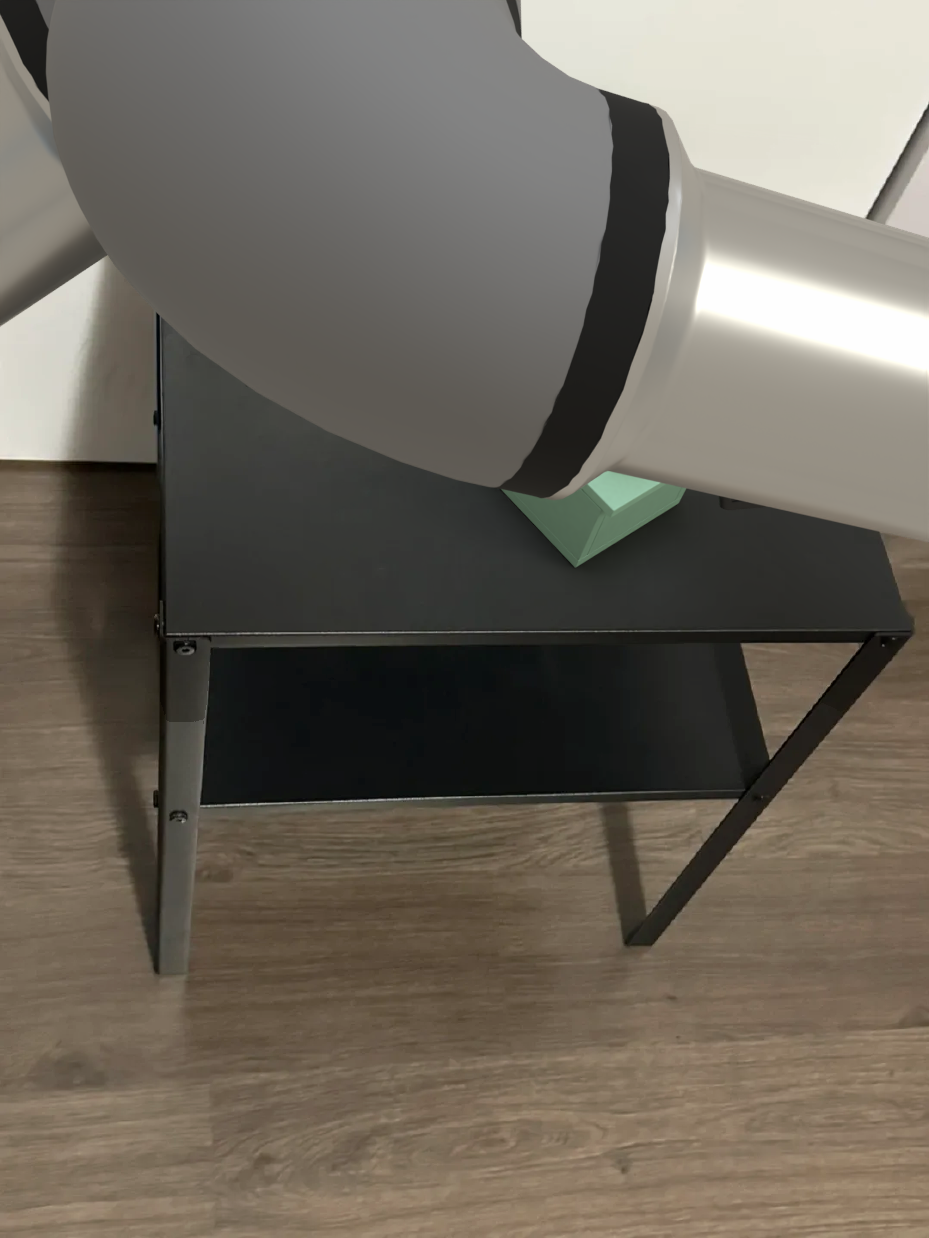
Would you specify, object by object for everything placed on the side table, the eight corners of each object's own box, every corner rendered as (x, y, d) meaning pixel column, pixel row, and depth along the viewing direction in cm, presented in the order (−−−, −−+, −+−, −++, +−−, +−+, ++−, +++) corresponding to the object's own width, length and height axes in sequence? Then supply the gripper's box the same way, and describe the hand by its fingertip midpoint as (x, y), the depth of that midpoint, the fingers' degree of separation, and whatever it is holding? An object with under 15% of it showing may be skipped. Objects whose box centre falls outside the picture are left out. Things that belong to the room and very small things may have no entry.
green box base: (678, 503, 86) (710, 444, 81) (575, 568, 82) (601, 510, 76) (560, 385, 90) (582, 322, 85) (454, 441, 86) (471, 377, 80)
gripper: (1006, 636, 52) (567, 553, 64) (1123, 368, 68) (753, 339, 79) (1021, 485, 48) (546, 423, 59) (1142, 235, 64) (748, 223, 75)
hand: (664, 375), depth 69 cm, fingers open, 13 cm apart
